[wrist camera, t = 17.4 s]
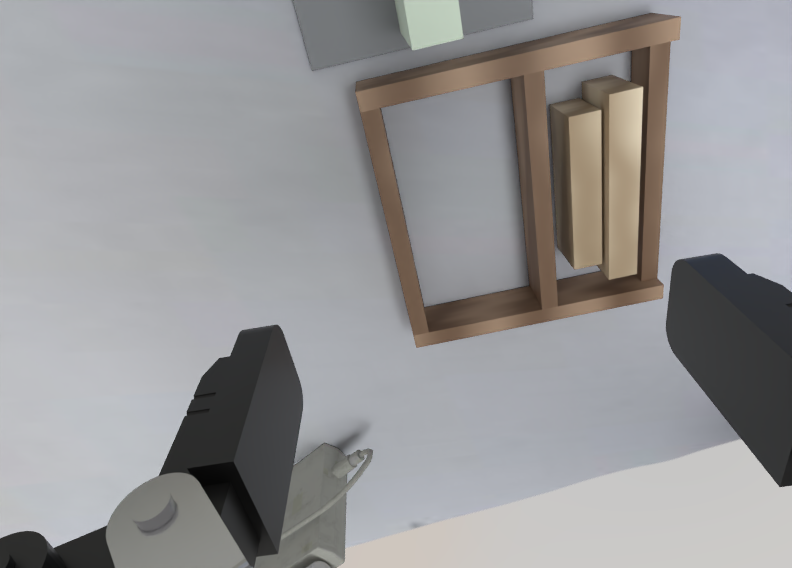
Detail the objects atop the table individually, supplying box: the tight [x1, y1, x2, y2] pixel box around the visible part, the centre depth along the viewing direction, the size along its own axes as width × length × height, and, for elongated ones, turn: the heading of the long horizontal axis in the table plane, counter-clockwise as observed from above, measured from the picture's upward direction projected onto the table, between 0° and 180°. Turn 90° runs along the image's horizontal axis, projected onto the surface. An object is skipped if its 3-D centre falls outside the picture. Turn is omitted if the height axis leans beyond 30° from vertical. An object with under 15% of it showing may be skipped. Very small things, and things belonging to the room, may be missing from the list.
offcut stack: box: [550, 75, 643, 280], centre depth 36 cm, size 4×13×4 cm, turn 12°
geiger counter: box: [254, 443, 373, 568], centre depth 47 cm, size 14×6×25 cm
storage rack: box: [355, 13, 681, 348], centre depth 37 cm, size 19×19×4 cm
